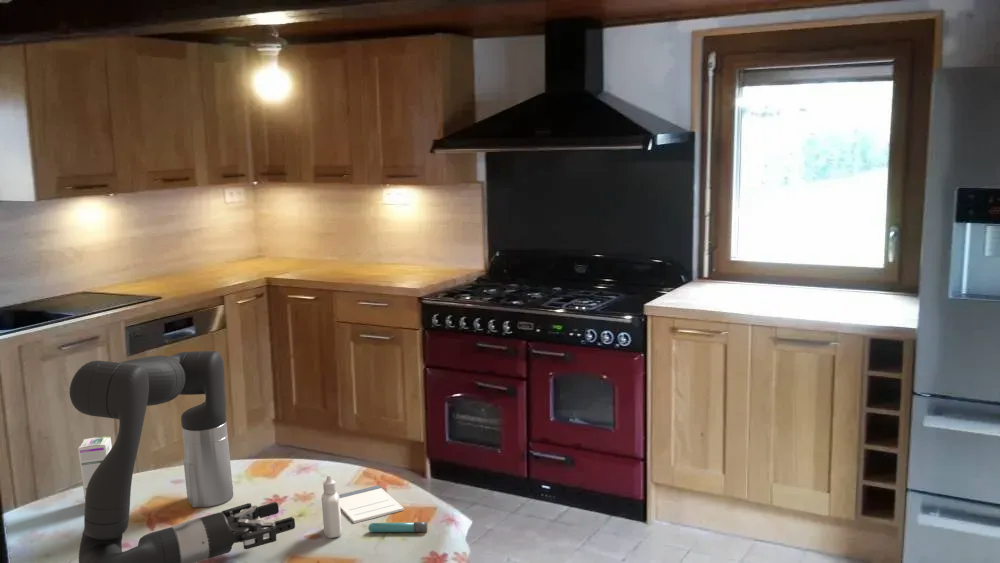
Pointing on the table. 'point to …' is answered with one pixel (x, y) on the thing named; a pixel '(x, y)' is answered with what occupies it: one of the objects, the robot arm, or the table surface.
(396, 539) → the table surface
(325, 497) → the white tapered bottle shape
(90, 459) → the syrup box
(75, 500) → the table surface
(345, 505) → the notepad
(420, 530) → the marker
